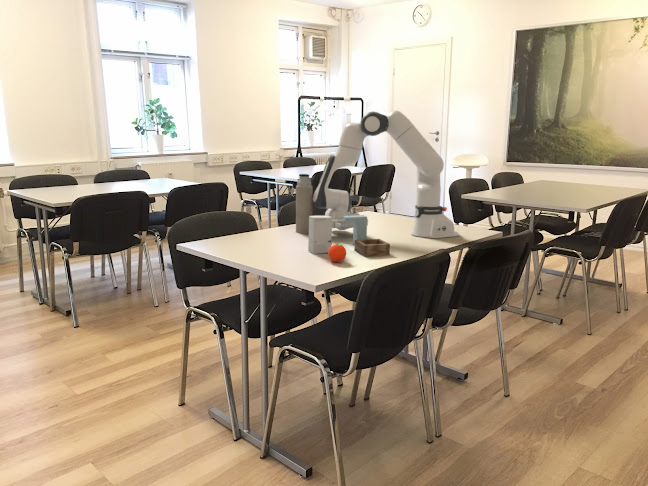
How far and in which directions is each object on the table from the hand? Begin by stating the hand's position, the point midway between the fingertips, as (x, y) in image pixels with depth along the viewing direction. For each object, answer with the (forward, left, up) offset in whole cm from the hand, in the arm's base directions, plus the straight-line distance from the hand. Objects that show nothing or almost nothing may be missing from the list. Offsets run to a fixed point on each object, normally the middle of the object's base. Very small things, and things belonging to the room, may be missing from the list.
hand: (351, 225), depth 241 cm
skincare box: (+20, +18, -7) cm, 28 cm away
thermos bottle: (+15, -26, -7) cm, 31 cm away
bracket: (+2, +11, -7) cm, 13 cm away
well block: (0, +25, -7) cm, 26 cm away
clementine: (+18, +36, -7) cm, 41 cm away
